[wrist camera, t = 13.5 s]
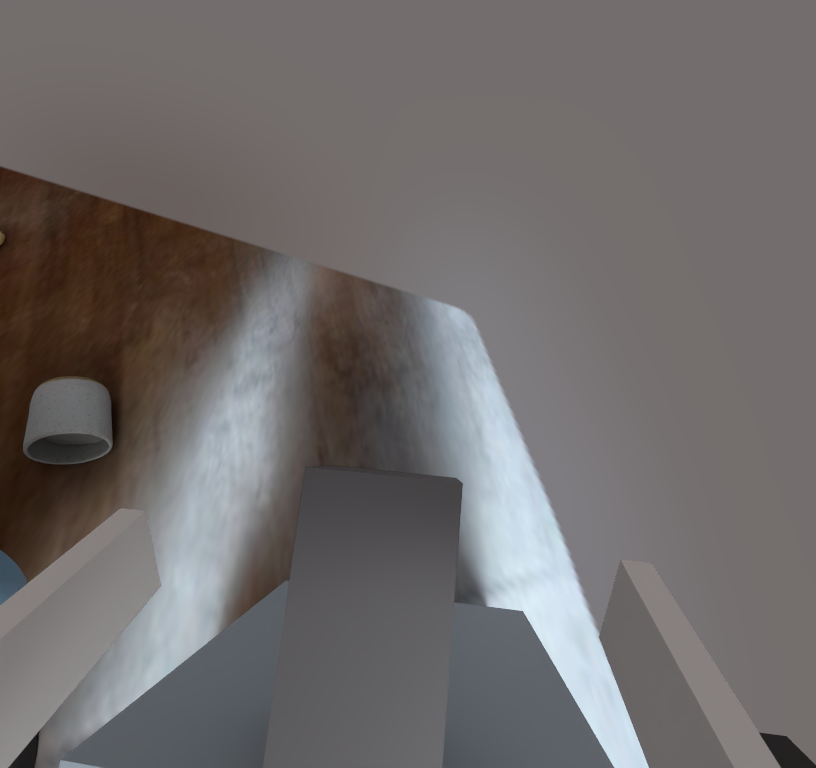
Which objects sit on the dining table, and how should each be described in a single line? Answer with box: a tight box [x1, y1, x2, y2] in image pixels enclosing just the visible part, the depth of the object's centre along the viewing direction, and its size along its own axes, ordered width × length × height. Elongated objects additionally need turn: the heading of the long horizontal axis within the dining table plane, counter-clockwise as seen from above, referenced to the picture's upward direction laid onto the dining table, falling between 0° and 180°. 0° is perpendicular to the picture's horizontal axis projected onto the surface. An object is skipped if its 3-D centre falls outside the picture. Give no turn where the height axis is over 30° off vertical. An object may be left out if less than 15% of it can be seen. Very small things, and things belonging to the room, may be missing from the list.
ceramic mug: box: [23, 376, 113, 464], centre depth 46 cm, size 11×8×8 cm
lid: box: [59, 466, 614, 768], centre depth 21 cm, size 18×17×10 cm
